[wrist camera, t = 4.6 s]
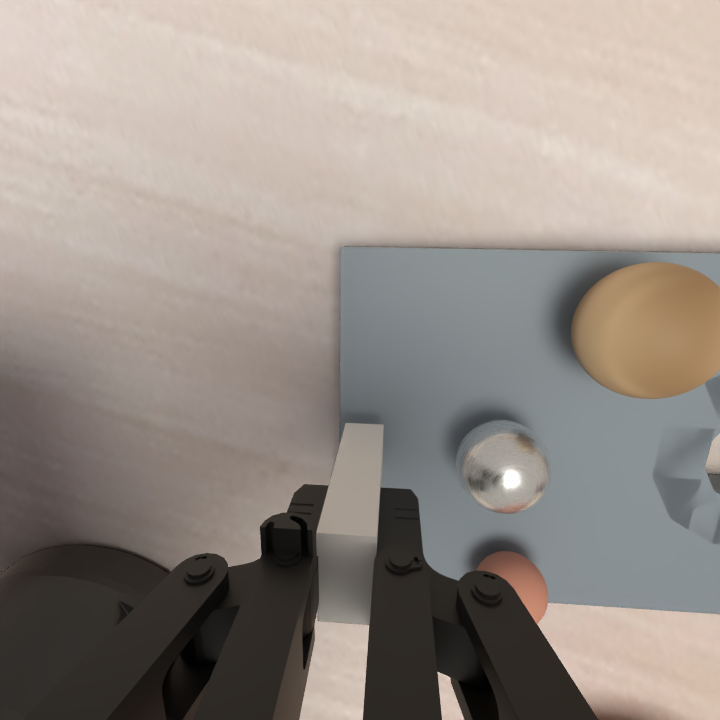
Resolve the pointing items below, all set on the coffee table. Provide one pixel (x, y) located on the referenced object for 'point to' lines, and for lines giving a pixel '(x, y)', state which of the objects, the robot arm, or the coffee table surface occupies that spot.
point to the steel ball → (504, 466)
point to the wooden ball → (649, 330)
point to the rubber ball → (520, 579)
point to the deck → (531, 421)
